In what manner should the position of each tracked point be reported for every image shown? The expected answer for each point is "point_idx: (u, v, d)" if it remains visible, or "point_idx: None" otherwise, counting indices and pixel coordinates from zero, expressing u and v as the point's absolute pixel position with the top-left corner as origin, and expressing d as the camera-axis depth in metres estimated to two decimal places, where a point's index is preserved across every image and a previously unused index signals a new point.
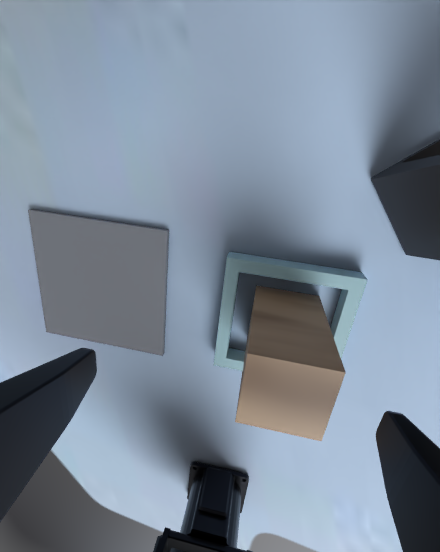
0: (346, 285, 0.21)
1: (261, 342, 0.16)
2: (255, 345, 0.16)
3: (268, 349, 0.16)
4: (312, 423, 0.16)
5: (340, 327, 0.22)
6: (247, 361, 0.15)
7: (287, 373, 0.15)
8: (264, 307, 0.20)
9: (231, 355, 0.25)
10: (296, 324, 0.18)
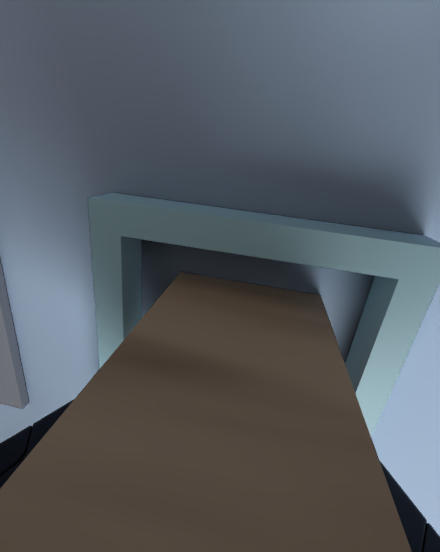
0: (393, 266, 0.08)
1: (39, 521, 0.03)
2: None
3: None
4: None
5: (371, 371, 0.09)
6: None
7: None
8: (167, 326, 0.07)
9: None
10: (246, 389, 0.06)
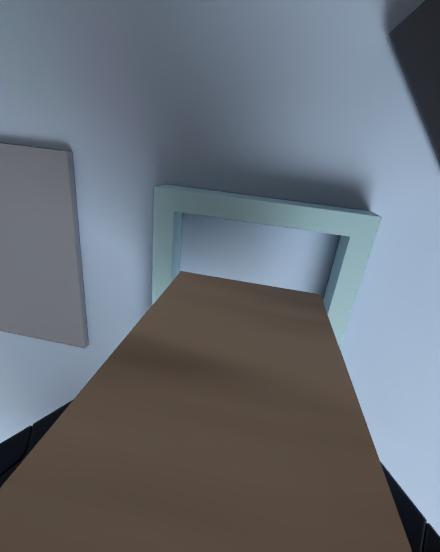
0: (346, 228, 0.12)
1: (41, 518, 0.03)
2: None
3: None
4: None
5: (336, 300, 0.14)
6: None
7: None
8: (167, 325, 0.07)
9: None
10: (246, 387, 0.06)
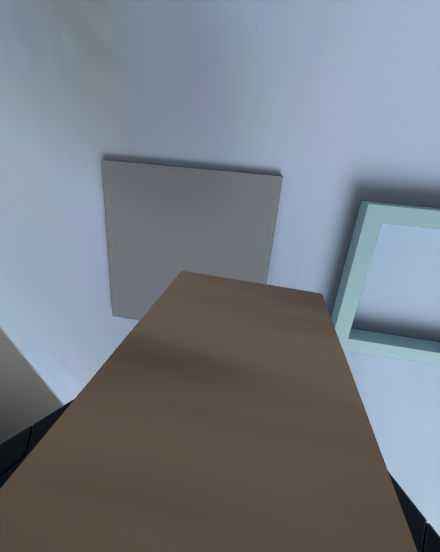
0: None
1: (42, 518, 0.03)
2: None
3: None
4: None
5: None
6: None
7: None
8: (169, 324, 0.07)
9: (351, 335, 0.20)
10: (248, 387, 0.05)
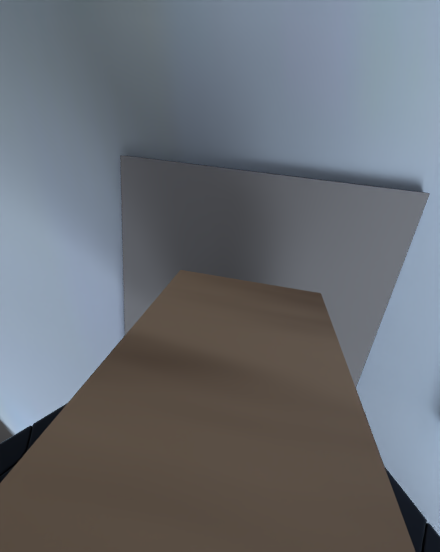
0: None
1: (37, 519, 0.03)
2: None
3: None
4: None
5: None
6: None
7: None
8: (167, 324, 0.07)
9: None
10: (247, 386, 0.05)
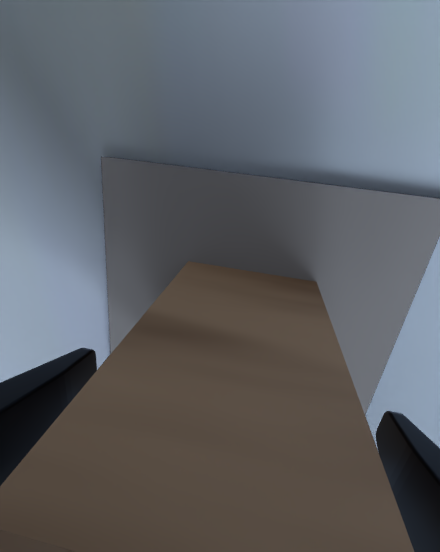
0: None
1: (92, 437, 0.04)
2: (54, 458, 0.04)
3: (99, 478, 0.04)
4: None
5: None
6: None
7: None
8: (180, 305, 0.08)
9: None
10: (250, 353, 0.06)
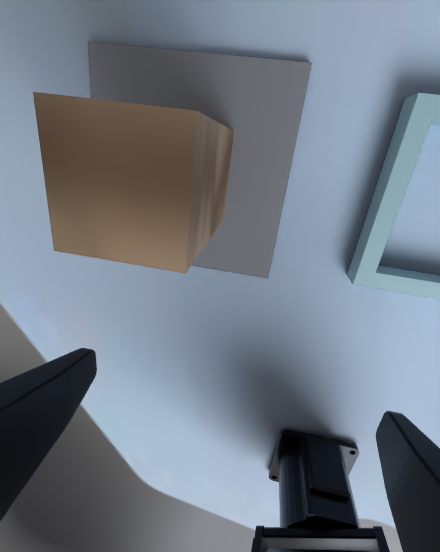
0: None
1: None
2: None
3: None
4: (165, 237, 0.10)
5: None
6: (38, 111, 0.09)
7: (104, 129, 0.09)
8: None
9: (379, 270, 0.17)
10: None
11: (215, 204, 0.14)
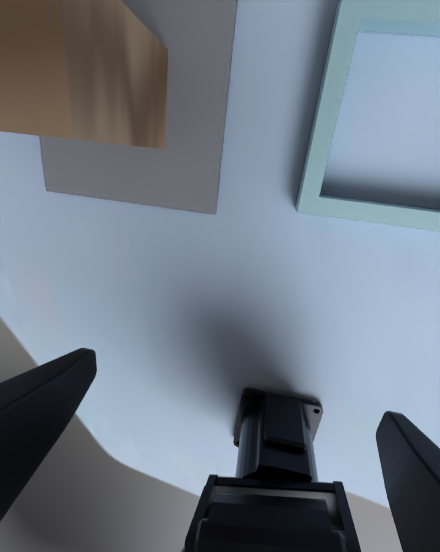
0: None
1: None
2: None
3: None
4: (45, 95, 0.09)
5: None
6: None
7: None
8: None
9: (324, 197, 0.17)
10: None
11: (138, 110, 0.14)
